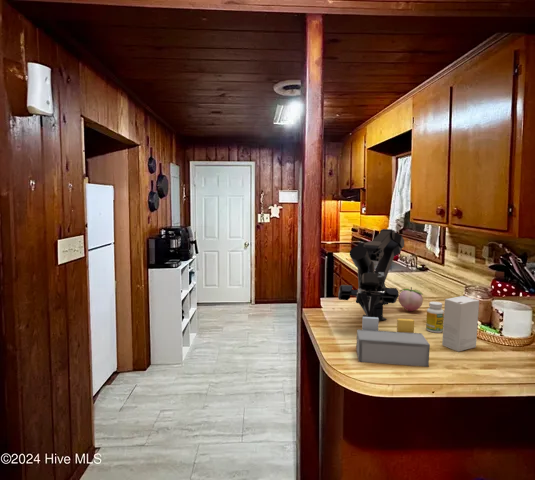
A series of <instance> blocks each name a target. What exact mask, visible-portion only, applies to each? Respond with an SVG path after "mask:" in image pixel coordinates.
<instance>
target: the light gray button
mask: <svg viewBox="0 0 535 480" xmlns="http://www.w3.org/2000/svg"><path fill="white" fill-rule="evenodd" d="M361 322H362V323H361V326H362V327H361V330H374V331H379V318H378V317H364V316H362V321H361Z"/></svg>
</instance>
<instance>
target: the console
mask: <svg viewBox="0 0 535 480" xmlns="http://www.w3.org/2000/svg"><path fill="white" fill-rule="evenodd" d="M355 344H356V346H355V347H356V348H355V349H356V355H357V360H358V362H361V363H372V364H373V363H374V364H384V365H385V364H386V365H400V366H413V367H427V368H428V367H429V365H430V349H431V348H430V346H431V345H430V343H429V342H428V340H427V339H426V337H425V336H424V335H423V333H421V332H414V333H407V332H397V331H388V330H378V331H374V330H362V329H356V343H355Z"/></svg>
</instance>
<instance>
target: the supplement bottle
mask: <svg viewBox="0 0 535 480" xmlns="http://www.w3.org/2000/svg"><path fill="white" fill-rule="evenodd" d="M428 303H429V304H428V306H429V307H428V308H426V321H425V325H426V326H425V328H426V329H425V330H426V331H428V332H430V333H434V334H435V333H437V334H439V333H443V323H444V309H443V303H442V302H440V301H430V302H428Z"/></svg>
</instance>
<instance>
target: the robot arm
mask: <svg viewBox="0 0 535 480" xmlns="http://www.w3.org/2000/svg"><path fill="white" fill-rule="evenodd" d="M404 247H405V239H404V237H403V236H402V234H400V233H398V232H396V231H395V230H394V229H390V228H383V229H380V230H379V233H377V235H376V236H375V237H374V238H373V239H372V241H368V242H363V243H361V242H359V243H358V244H357V245H356V246H354V247H352V248H351V249H350V251H349V257H350V259H351V260H352V262H353V265H354V266H355V268H357V282H358V283H357V284H358V288H357V289H353V285H352V284H351V285H350V284H341V285H340V286H339V289H338V294H337V295H338V296H337V297H338V299H337V300H339V301H349V300H350V299H351V296H353V297H355V298H356V299H355V303H356V304H359V305H360V308H362V310H363V312H364V314H363V315H362V317H378V318H379V321H387V318H386V317H384V315H383V314H384V306H386V305H389V304H395V303H396V302H397V300H398V299H399V295H400V293H399V290H398V288H396V287H386V284H385V282H386V279H387V277H388V274H389V271H390V269H391V266H392V263H393V261H394V258H395V257H396V256H397V255H399V254H401V253H402V250H403V248H404ZM374 262H377V265H376V268H375V263H374Z"/></svg>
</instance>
